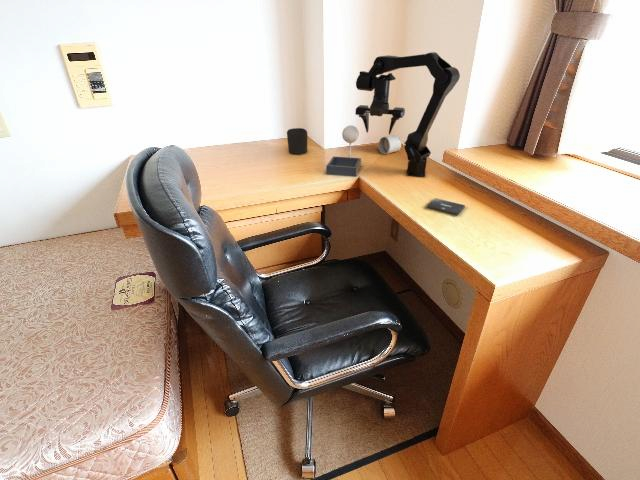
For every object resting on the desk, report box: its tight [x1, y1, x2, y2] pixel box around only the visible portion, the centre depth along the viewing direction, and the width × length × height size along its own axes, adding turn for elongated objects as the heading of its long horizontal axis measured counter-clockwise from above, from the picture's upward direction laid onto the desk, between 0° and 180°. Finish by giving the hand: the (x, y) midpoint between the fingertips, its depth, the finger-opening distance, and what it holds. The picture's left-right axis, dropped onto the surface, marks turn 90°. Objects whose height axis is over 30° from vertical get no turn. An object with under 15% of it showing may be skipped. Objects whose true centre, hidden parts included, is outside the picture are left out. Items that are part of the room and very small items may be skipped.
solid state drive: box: [427, 197, 466, 216], centre depth 113 cm, size 7×10×1 cm
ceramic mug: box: [377, 135, 402, 155], centre depth 162 cm, size 11×8×8 cm
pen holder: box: [286, 127, 308, 156], centre depth 163 cm, size 9×9×10 cm
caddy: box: [326, 156, 362, 177], centre depth 143 cm, size 12×12×4 cm
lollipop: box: [341, 125, 360, 158], centre depth 151 cm, size 7×7×15 cm
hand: (378, 133), depth 143 cm, fingers open, 9 cm apart
